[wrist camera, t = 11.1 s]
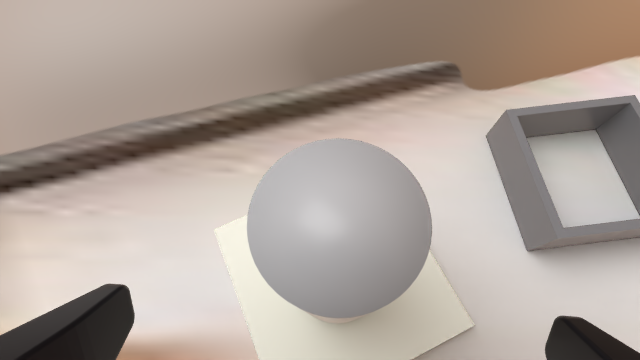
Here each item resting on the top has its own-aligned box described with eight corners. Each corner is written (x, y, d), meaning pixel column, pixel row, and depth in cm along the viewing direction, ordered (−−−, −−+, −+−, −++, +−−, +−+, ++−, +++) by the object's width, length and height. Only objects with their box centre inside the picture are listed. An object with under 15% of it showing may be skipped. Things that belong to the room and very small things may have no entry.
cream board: (469, 325, 19) (474, 325, 18) (285, 425, 17) (283, 429, 17) (373, 164, 23) (374, 158, 22) (217, 233, 22) (213, 229, 21)
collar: (658, 234, 21) (708, 220, 18) (527, 250, 20) (557, 238, 18) (599, 122, 24) (634, 95, 21) (485, 135, 24) (506, 110, 21)
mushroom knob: (398, 268, 19) (467, 203, 9) (344, 344, 18) (358, 364, 8) (328, 215, 21) (323, 110, 11) (274, 282, 19) (208, 233, 9)
